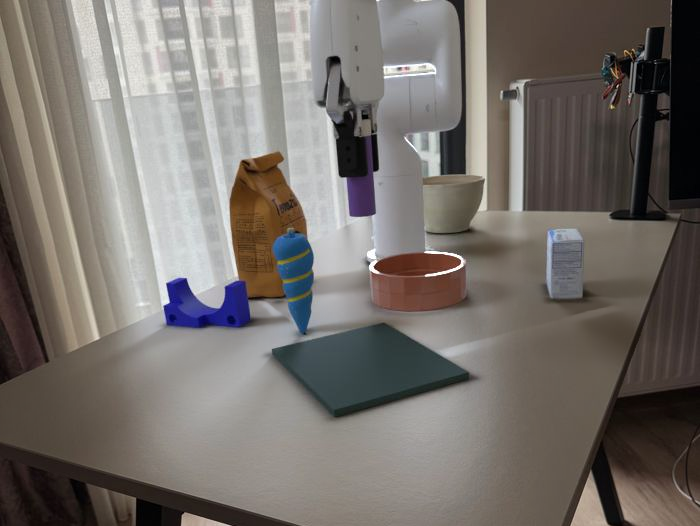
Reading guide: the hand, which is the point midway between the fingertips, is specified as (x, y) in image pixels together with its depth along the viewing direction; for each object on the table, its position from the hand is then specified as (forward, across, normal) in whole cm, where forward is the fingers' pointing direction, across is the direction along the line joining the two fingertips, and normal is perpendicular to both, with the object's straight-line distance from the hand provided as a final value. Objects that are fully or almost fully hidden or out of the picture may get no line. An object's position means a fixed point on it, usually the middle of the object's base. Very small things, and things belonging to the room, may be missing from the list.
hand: (359, 172), depth 71 cm
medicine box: (+22, -27, +20) cm, 40 cm away
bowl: (+21, -22, 0) cm, 31 cm away
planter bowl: (+21, -71, -6) cm, 74 cm away
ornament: (+22, -6, -12) cm, 26 cm away
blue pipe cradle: (+22, -8, -28) cm, 37 cm away
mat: (+22, +3, 0) cm, 22 cm away
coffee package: (+22, -24, -25) cm, 41 cm away
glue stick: (+5, 0, 0) cm, 5 cm away
